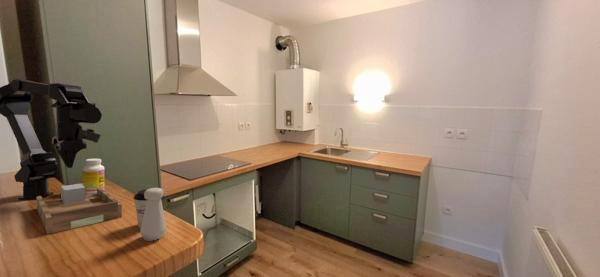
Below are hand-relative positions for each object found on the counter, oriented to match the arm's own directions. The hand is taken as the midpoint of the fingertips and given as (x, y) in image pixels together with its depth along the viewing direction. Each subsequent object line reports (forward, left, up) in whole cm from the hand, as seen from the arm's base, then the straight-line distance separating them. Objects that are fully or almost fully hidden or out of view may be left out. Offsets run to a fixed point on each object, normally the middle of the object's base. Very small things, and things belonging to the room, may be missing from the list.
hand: (69, 167), depth 84 cm
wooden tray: (+11, +9, -12) cm, 19 cm away
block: (+5, +4, -10) cm, 12 cm away
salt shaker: (+30, +36, -12) cm, 49 cm away
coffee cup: (+22, +32, -12) cm, 41 cm away
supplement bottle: (-11, +2, -12) cm, 16 cm away
